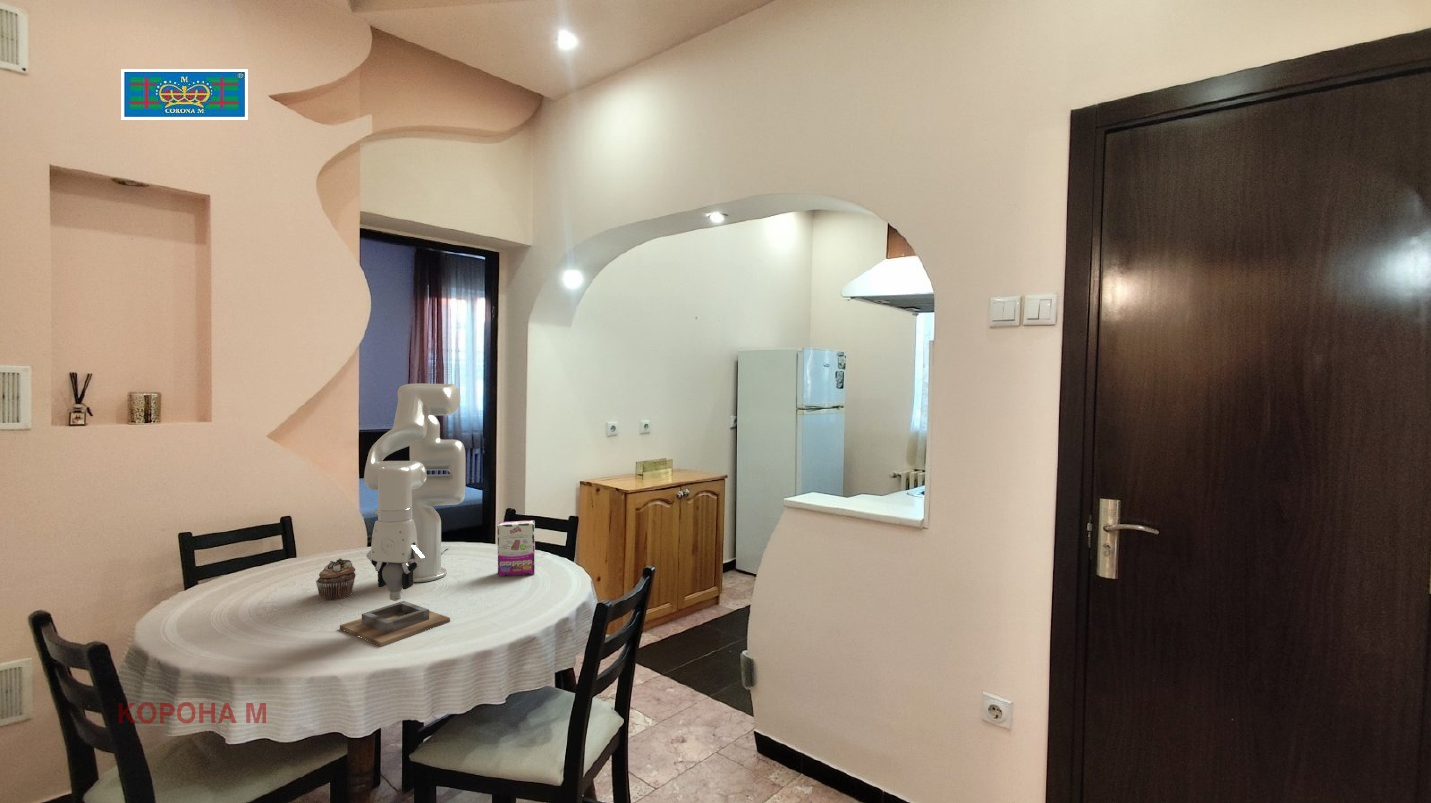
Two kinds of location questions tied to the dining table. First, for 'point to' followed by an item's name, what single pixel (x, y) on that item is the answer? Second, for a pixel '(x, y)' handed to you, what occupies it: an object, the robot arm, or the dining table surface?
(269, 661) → the dining table surface
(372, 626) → the socket holder
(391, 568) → the light bulb
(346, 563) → the cupcake
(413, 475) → the robot arm
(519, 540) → the candy bar box
